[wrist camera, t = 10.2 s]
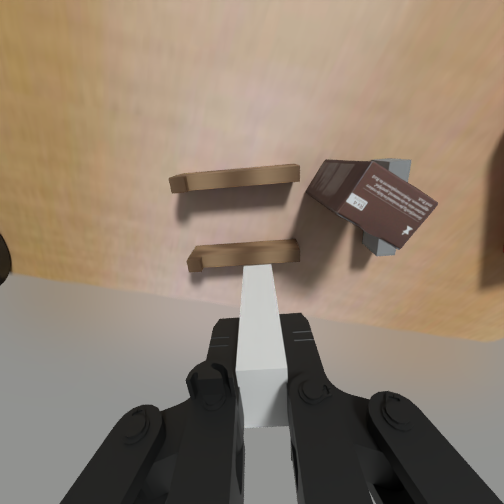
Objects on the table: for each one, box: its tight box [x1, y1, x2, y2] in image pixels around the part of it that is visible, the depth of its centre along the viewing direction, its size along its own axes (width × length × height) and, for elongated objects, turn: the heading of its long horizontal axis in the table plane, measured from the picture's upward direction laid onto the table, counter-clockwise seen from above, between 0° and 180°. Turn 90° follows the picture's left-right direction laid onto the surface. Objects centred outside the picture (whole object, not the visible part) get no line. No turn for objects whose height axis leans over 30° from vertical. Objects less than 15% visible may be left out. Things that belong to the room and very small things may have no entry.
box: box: [306, 160, 438, 250], centre depth 22 cm, size 6×4×12 cm
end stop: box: [362, 158, 411, 256], centre depth 26 cm, size 2×10×4 cm, turn 5°
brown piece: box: [169, 164, 300, 272], centre depth 27 cm, size 13×11×4 cm
